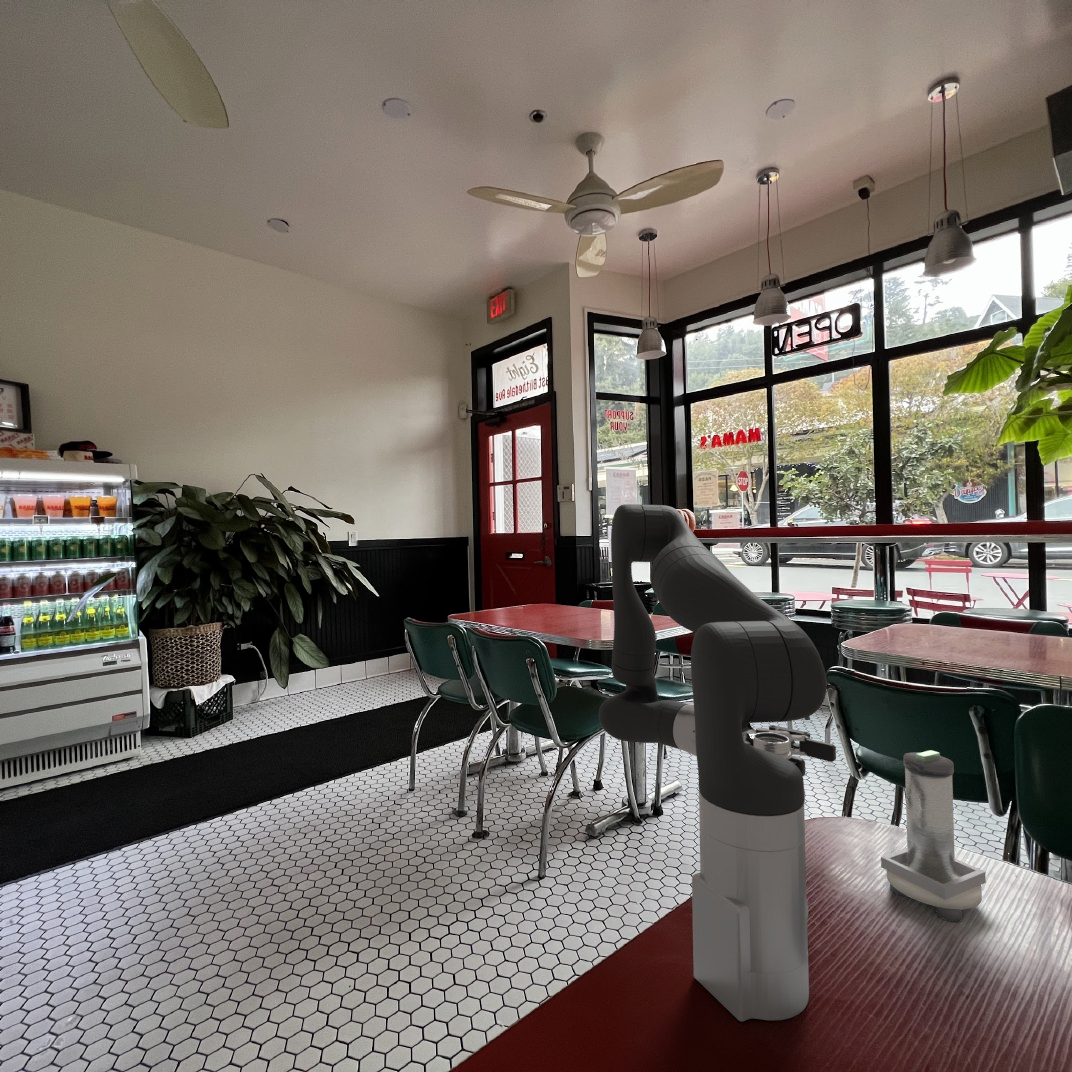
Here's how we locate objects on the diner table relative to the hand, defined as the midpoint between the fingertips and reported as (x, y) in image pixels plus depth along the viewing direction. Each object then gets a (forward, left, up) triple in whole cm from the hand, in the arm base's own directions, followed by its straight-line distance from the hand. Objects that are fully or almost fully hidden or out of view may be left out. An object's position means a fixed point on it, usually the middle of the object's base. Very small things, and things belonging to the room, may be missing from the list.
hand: (820, 761), depth 77 cm
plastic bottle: (-16, -8, -13) cm, 22 cm away
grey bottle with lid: (+3, -12, -10) cm, 16 cm away
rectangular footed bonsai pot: (+4, -12, -12) cm, 17 cm away
